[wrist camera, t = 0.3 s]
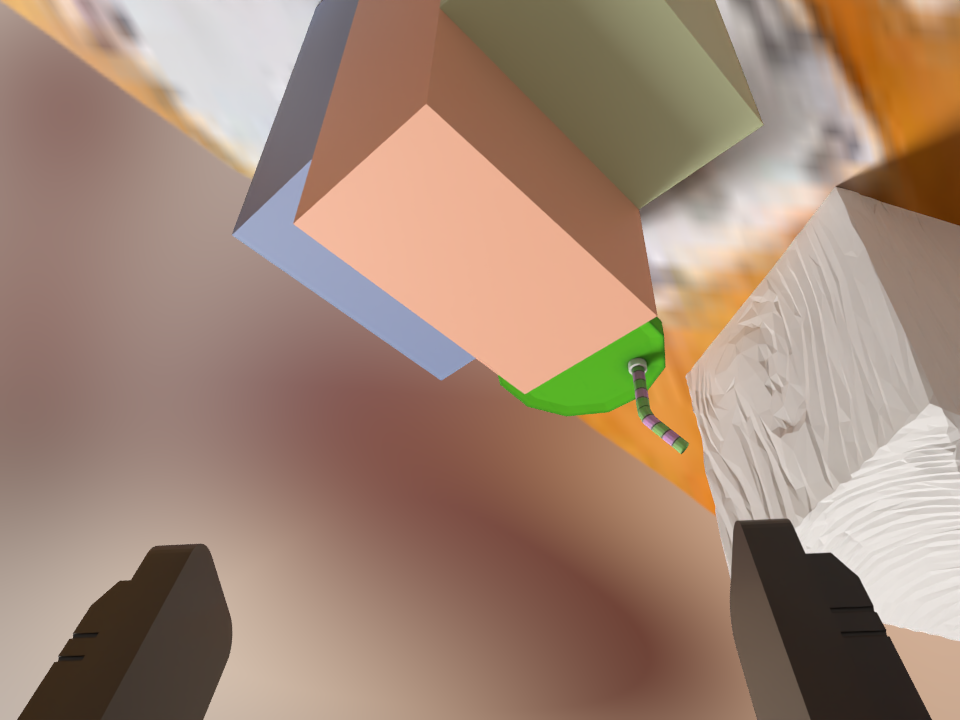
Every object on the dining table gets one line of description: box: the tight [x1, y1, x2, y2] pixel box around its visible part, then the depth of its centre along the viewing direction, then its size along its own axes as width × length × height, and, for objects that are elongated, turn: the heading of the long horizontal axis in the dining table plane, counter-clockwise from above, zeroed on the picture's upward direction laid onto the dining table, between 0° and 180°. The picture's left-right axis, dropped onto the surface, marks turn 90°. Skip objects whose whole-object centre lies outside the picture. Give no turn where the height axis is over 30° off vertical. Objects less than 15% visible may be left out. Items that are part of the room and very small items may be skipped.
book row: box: [232, 0, 763, 394], centre depth 29 cm, size 9×14×19 cm, turn 134°
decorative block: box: [686, 187, 960, 641], centre depth 43 cm, size 16×16×20 cm
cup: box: [498, 317, 689, 454], centre depth 40 cm, size 8×8×15 cm
